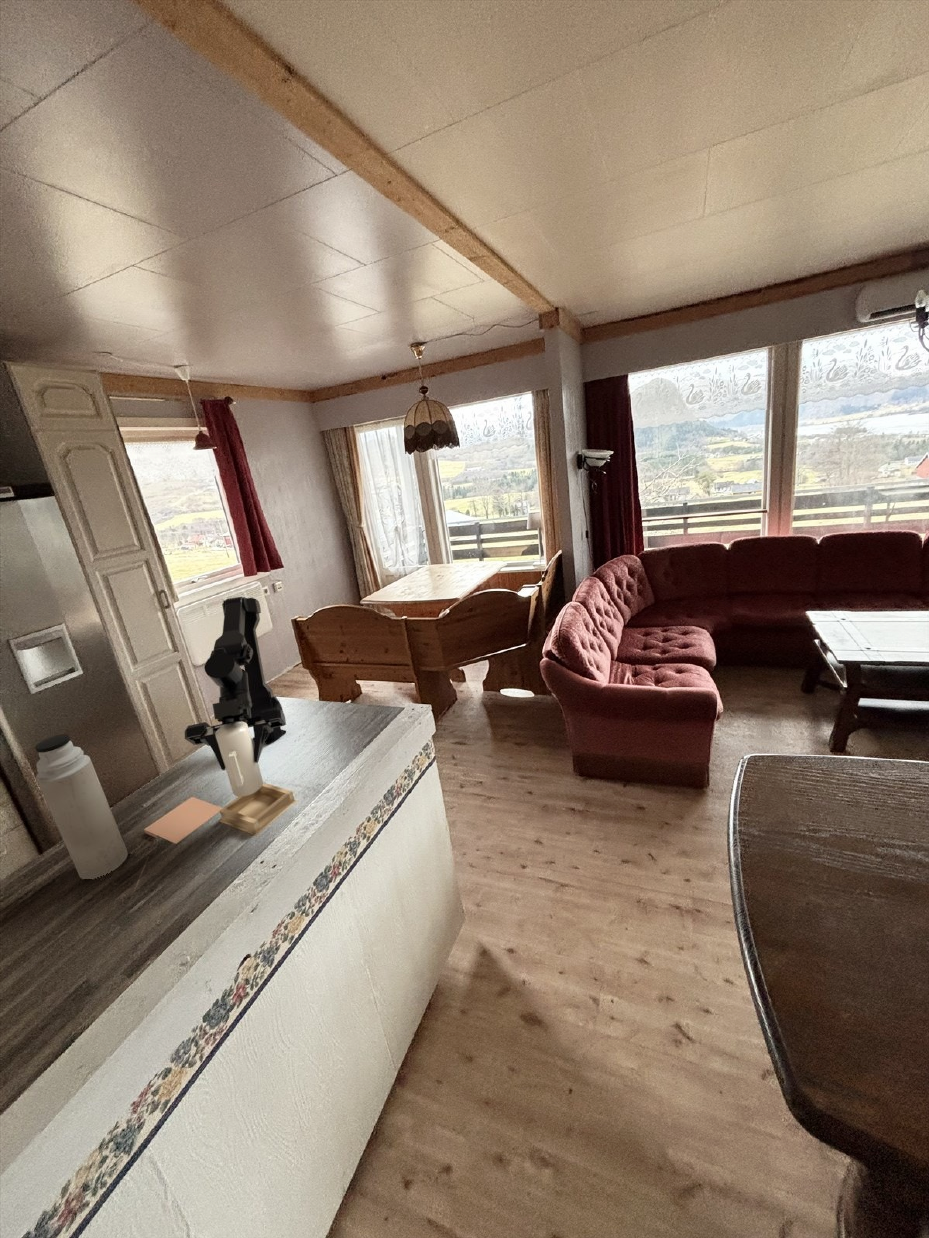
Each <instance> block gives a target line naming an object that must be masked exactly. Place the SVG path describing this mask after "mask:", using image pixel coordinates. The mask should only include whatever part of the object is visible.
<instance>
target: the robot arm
mask: <svg viewBox="0 0 929 1238" xmlns="http://www.w3.org/2000/svg"><path fill="white" fill-rule="evenodd" d="M221 607H222V612H223V625H222V634H221V635H220V636H219V637H218V638H217V639H216V640H215V642H214V645H213V650H211V652H210V656H209V658H207V660H206V662H205V664H204V667H203V668H204V669H203V670H204V673H205V674H206V675H207V676H208V677H209V678H210V679H211V680H212V681H213V683H214V684H215V685H216V686H217V687H219V697H218V702H215V703H212V709H213V716H214V720H217V722H219V723H221V724H216V725H212V726H211V725H210V724H209V723H207V722H206V721H204V722H200V723H195V724H191V725H190V724H189V725H188V726H186V728H185V730H184V740H186V741H187V742H189V743H190V744H191V745H193V746H198V745H203V744H205V745H206V746H207V747H210V748H211V750H212V751H213V754H214V755H215V756H214V757H215V758H216V760H217V763H218V765H219V767H220V769H221V771H226V768H225V765H224V762H223V758H222V755H221V752H220V748H219V745H218V742H217V738H216V735H215V733H216V731H217V730H218V729H219V728H221V727H222V726H224V725H226V724H229V723H233V722H245V723H247V725H248V729H249V728H253V736H254V737H253V738H252V741H253V747H254V758H255V762H256V763H258V764H259V760H260V757H261V754H262V751H263V749H264V746H265V745H270V744H272V743H273V742H274V741H276V740H278V739H279V738H280V737H282V736H284V735H285V734H287V730H285V729H282V727H285V726H286V725H287V722H286V715H285V713H284V711H283V706H282V704H281V702H280V701H279V699H278V698H277V696H276V695H274V690H273V689H272V688H271V687H270V686H269V685H268V684H267V683H266V680H265V674H264V669H263V663H262V657H261V652H260V647H259V640H258V636H257V631H256V630H257V628H258V626H259V624H260V620H261V617H260V614H261V613H262V611H261V610H262V609H261V605H260V601H259V600H258V599H257V598H254V597H248V598H247V597H245V596H236V597H230V598H226V599H225V600H223V601H222V605H221ZM242 666H243V668H241V667H242Z"/></svg>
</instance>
